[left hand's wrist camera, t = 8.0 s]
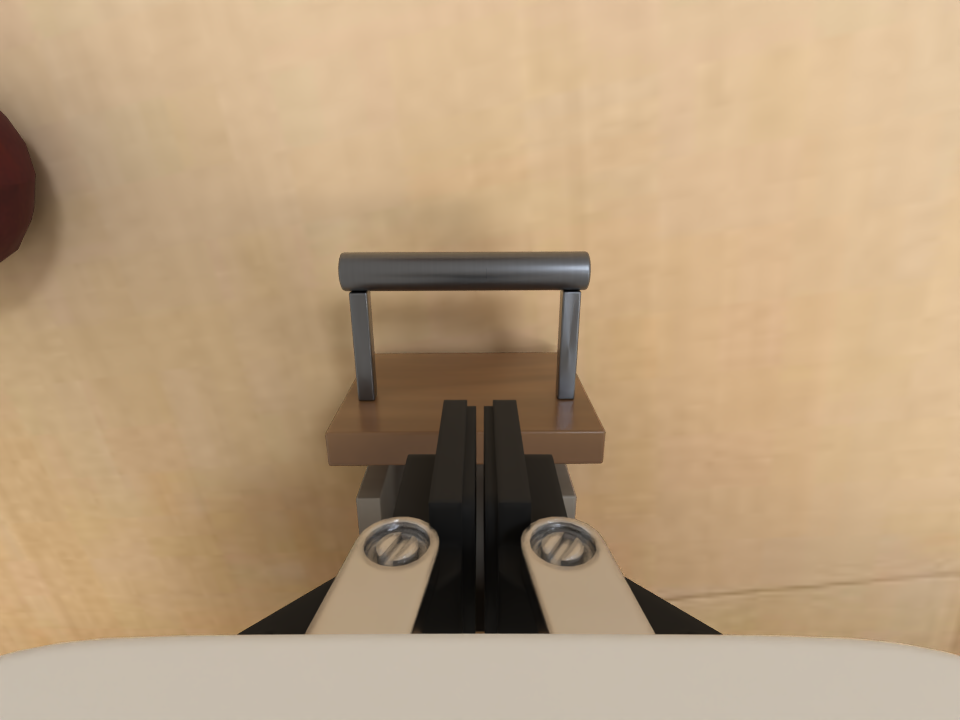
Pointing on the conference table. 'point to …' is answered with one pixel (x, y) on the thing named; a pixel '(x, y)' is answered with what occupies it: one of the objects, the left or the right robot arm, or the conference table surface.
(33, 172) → the potato
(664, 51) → the conference table surface
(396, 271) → the drawer
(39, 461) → the conference table surface
